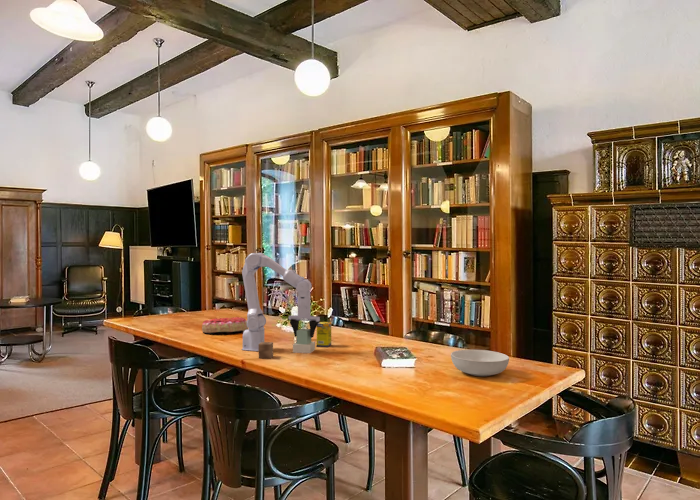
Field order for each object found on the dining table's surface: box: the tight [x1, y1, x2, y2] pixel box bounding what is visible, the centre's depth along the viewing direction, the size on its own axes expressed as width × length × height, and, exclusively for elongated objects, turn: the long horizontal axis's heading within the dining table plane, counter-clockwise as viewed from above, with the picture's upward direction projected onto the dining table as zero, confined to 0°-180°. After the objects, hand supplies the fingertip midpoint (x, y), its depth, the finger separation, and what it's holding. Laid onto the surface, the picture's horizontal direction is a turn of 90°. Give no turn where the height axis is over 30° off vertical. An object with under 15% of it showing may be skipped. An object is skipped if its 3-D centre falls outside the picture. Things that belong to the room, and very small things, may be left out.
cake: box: [201, 316, 249, 335], centre depth 278 cm, size 25×25×8 cm
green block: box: [296, 328, 312, 344], centre depth 225 cm, size 5×5×6 cm
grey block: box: [292, 341, 316, 354], centre depth 225 cm, size 8×8×4 cm
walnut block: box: [258, 341, 274, 360], centre depth 213 cm, size 5×5×6 cm
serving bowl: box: [450, 349, 510, 377], centre depth 186 cm, size 21×21×7 cm
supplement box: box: [316, 321, 332, 348], centre depth 237 cm, size 6×6×11 cm
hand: (304, 336), depth 225 cm, fingers open, 7 cm apart
